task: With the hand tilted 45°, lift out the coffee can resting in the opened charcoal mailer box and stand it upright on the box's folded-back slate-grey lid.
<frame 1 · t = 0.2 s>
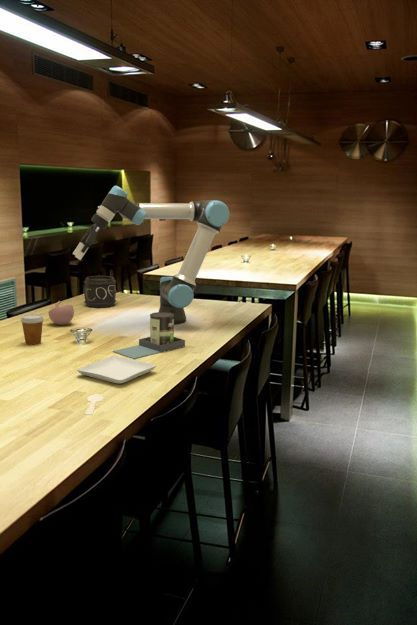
hand: (76, 256, 271), 35 cm above the table, tool tilted 35°, fingers open, 13 cm apart
disposable coffee cup: (33, 343, 259), on the table
mortar and pestle: (61, 325, 294), on the table
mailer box: (161, 346, 259), on the table
salad plate: (117, 375, 221), on the table
coffee canister: (101, 305, 341), on the table
spoon: (93, 405, 191), on the table
coffee can: (161, 346, 259), resting in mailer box
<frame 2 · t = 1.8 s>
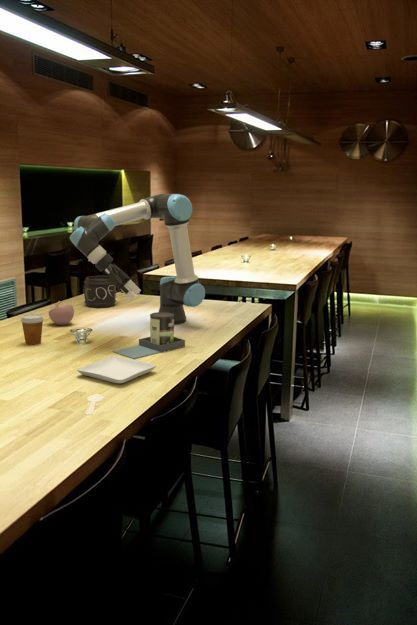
hand: (136, 295, 255), 22 cm above the table, tool tilted 45°, fingers open, 13 cm apart
nothing on the table moved.
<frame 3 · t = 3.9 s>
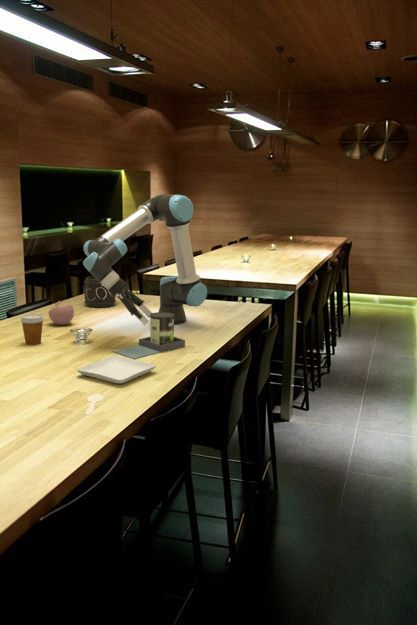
hand: (149, 319, 256), 12 cm above the table, tool tilted 45°, fingers open, 13 cm apart
nothing on the table moved.
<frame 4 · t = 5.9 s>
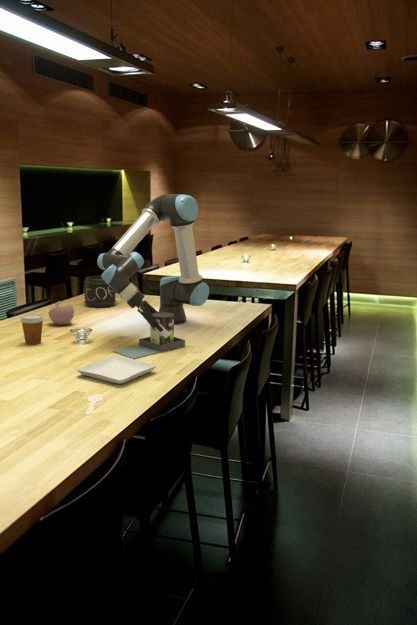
hand: (169, 332, 258), 6 cm above the table, tool tilted 45°, fingers closed on coffee can, 10 cm apart
coffee can: (161, 346, 259), resting in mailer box, touching gripper
everything else where it was.
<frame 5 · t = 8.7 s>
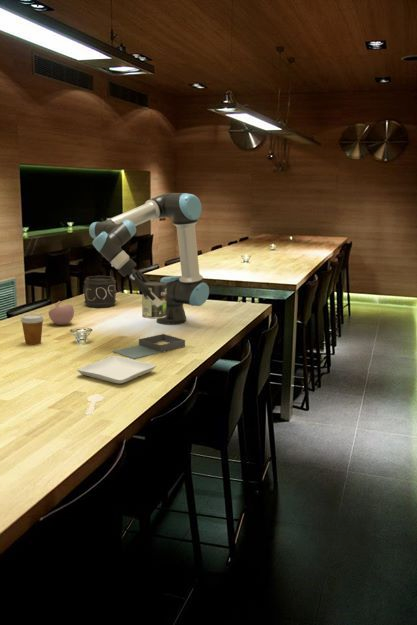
hand: (161, 302, 252), 20 cm above the table, tool tilted 45°, fingers closed on coffee can, 10 cm apart
coffee can: (154, 316, 253), point 14 cm above the table, touching gripper
everything else where it was.
when the fingers open (7 cm above the table, at t = 12.1 s): coffee can stays where it is, resting on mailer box.
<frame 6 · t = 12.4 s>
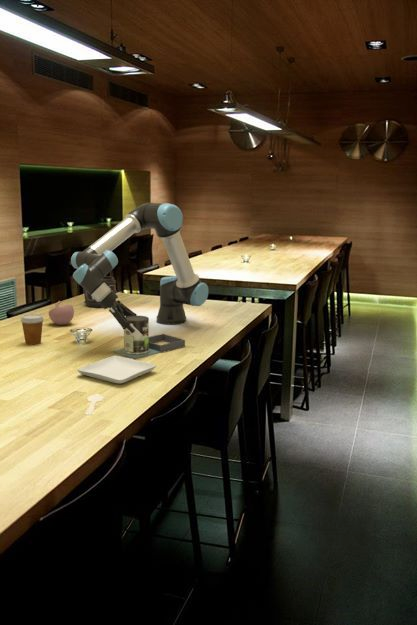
hand: (142, 333, 248), 8 cm above the table, tool tilted 45°, fingers open, 13 cm apart
coffee can: (136, 351, 249), resting on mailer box
everything else where it was.
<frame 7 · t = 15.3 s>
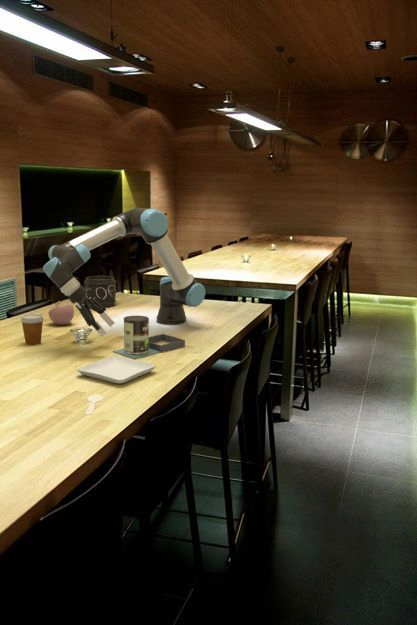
hand: (109, 329, 249), 9 cm above the table, tool tilted 40°, fingers open, 13 cm apart
nothing on the table moved.
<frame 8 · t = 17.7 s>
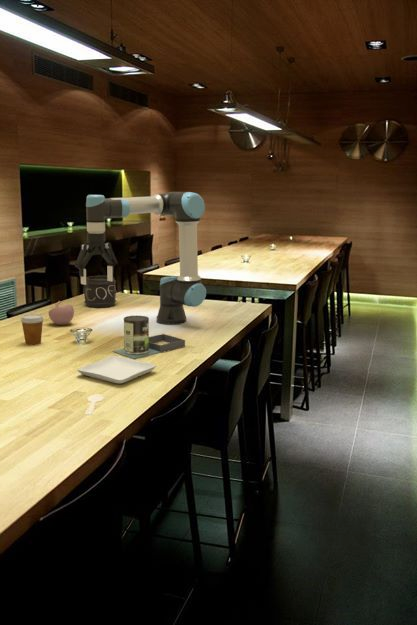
hand: (97, 282, 256), 27 cm above the table, tool pointing down, fingers open, 13 cm apart
nothing on the table moved.
at the end: coffee can inside the target area on the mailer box (0.2 cm from its centre), point 0.2 cm above the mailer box's base; coffee can tilted 0°; the gripper is holding nothing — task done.
